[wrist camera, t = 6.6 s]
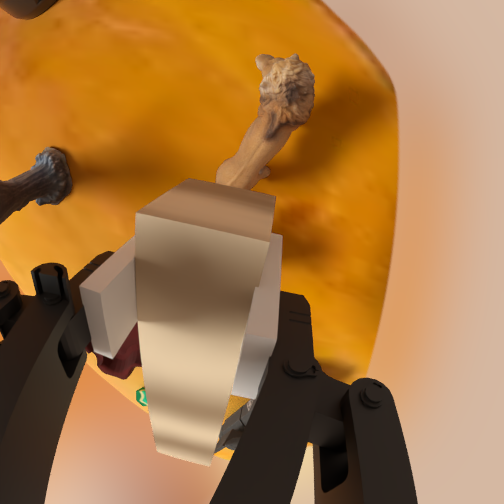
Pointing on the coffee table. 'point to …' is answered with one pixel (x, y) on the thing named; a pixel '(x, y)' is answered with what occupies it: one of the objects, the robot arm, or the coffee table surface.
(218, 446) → the laser sight
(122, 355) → the ashtray
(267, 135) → the lion figurine
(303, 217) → the coffee table surface
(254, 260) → the block
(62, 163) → the antler
